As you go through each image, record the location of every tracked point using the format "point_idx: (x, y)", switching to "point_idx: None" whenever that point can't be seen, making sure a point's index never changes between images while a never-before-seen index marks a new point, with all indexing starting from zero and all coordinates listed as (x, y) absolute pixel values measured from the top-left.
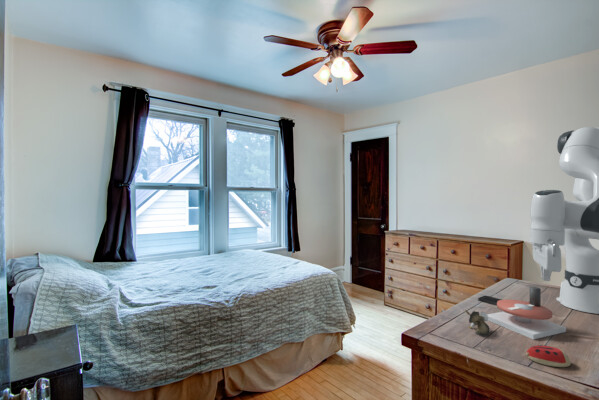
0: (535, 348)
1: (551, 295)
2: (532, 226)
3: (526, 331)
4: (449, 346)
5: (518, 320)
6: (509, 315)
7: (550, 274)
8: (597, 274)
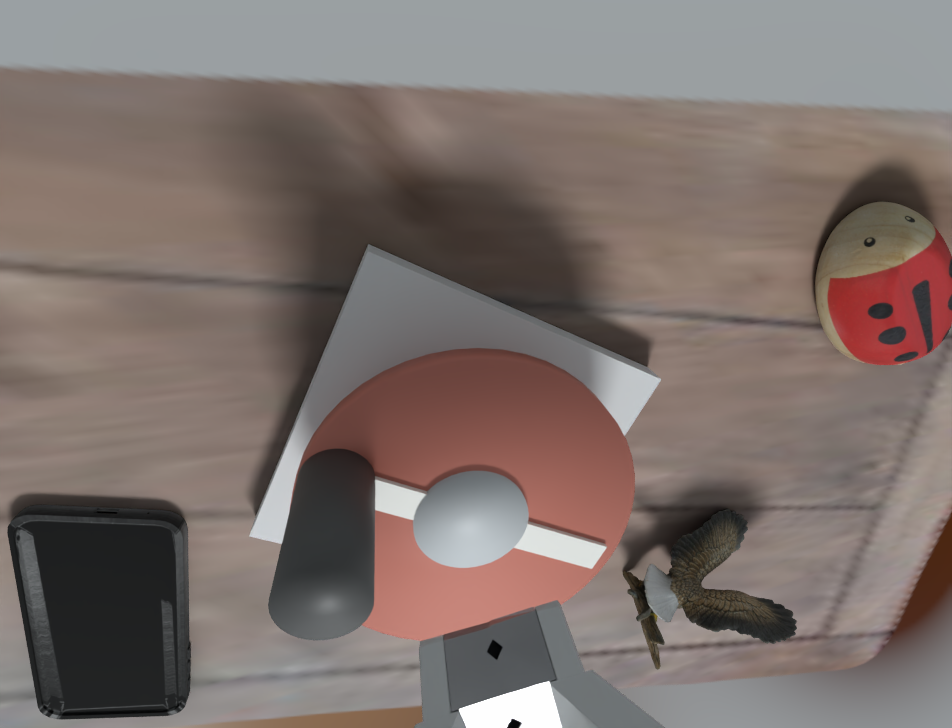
0: (938, 344)
1: None
2: None
3: (636, 411)
4: (904, 556)
5: None
6: None
7: (622, 696)
8: None
